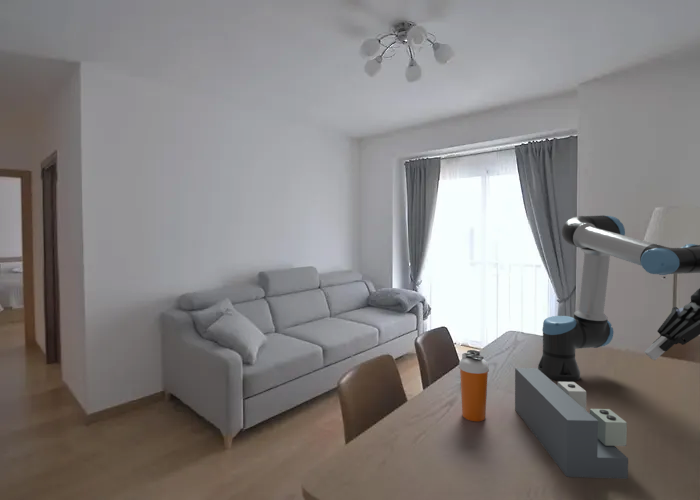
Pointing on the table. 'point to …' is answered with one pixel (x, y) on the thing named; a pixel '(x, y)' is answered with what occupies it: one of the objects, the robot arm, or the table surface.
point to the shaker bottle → (473, 386)
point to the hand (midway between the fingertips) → (649, 356)
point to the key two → (610, 427)
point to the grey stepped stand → (565, 428)
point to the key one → (574, 392)
